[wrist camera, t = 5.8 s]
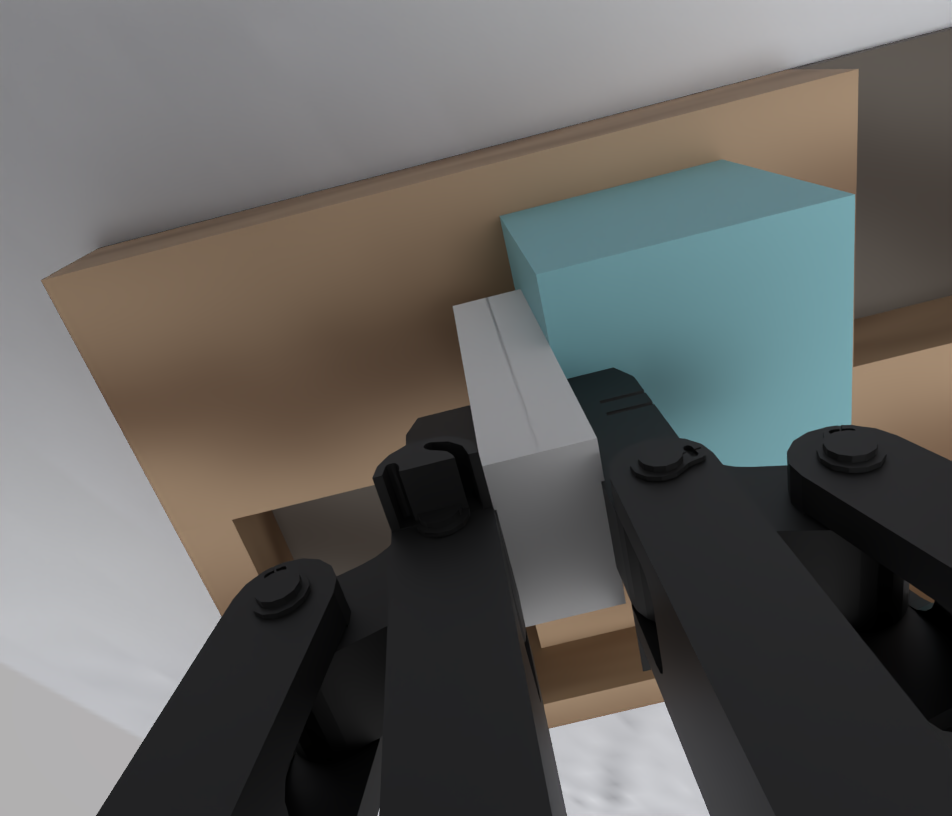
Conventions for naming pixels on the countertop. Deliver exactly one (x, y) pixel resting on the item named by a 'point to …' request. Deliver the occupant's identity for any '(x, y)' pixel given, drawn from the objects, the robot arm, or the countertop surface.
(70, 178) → the countertop surface
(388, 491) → the robot arm
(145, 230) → the countertop surface
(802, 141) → the trap board
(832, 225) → the teal block
